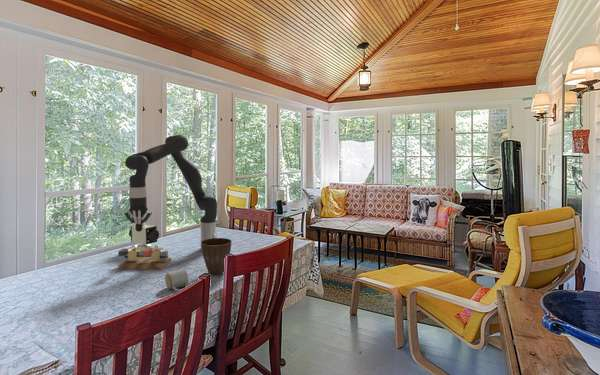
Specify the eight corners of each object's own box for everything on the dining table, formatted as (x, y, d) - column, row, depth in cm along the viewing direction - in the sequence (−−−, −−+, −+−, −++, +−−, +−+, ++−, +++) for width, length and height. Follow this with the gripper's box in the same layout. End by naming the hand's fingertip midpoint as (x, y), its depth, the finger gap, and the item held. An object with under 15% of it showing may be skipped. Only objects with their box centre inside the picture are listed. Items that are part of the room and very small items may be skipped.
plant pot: (236, 269, 175) (236, 238, 174) (223, 279, 161) (223, 246, 159) (210, 266, 178) (209, 237, 177) (195, 276, 164) (194, 244, 163)
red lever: (160, 248, 181) (160, 243, 181) (148, 256, 166) (148, 251, 166) (155, 248, 181) (155, 243, 181) (143, 256, 166) (143, 251, 166)
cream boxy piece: (161, 252, 205) (161, 223, 203) (150, 255, 197) (149, 225, 196) (141, 248, 213) (140, 220, 211) (129, 251, 205) (127, 223, 203)
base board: (171, 261, 188) (171, 257, 187) (162, 269, 174) (161, 265, 174) (131, 261, 187) (131, 257, 187) (118, 269, 173) (118, 265, 173)
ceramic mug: (164, 287, 150) (163, 270, 149) (182, 282, 156) (181, 266, 155) (173, 294, 142) (173, 277, 142) (192, 289, 148) (192, 272, 147)
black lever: (137, 247, 181) (137, 243, 180) (123, 256, 166) (123, 251, 165) (133, 247, 181) (132, 243, 180) (118, 256, 165) (118, 251, 165)
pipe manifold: (168, 260, 183) (168, 247, 182) (165, 262, 178) (164, 249, 177) (127, 260, 182) (126, 247, 182) (122, 262, 177) (122, 249, 177)
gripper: (154, 195, 170) (155, 229, 171) (128, 195, 169) (129, 229, 171) (148, 197, 162) (149, 233, 164) (120, 197, 162) (121, 232, 163)
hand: (139, 231), depth 167 cm, fingers closed
